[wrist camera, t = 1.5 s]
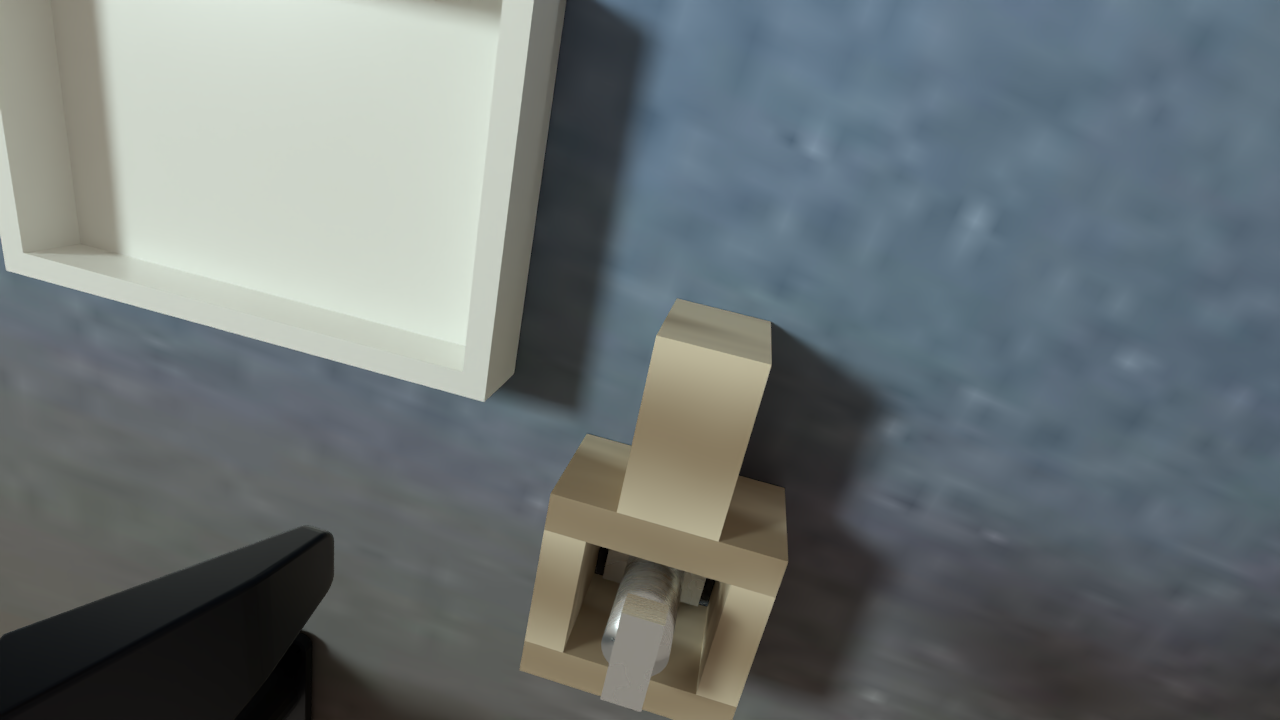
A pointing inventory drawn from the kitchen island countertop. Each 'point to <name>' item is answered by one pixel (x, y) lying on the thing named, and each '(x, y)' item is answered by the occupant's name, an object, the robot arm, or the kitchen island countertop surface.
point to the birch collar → (670, 521)
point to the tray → (288, 168)
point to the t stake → (642, 623)
